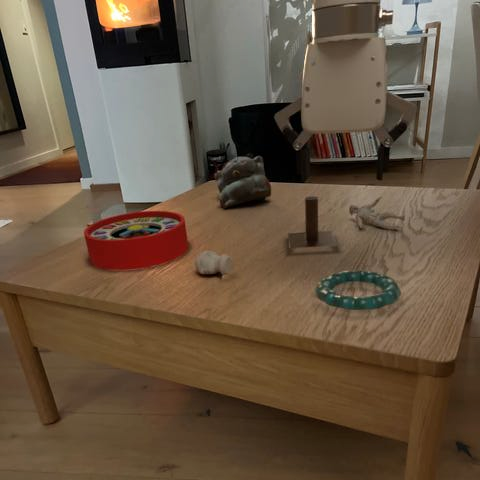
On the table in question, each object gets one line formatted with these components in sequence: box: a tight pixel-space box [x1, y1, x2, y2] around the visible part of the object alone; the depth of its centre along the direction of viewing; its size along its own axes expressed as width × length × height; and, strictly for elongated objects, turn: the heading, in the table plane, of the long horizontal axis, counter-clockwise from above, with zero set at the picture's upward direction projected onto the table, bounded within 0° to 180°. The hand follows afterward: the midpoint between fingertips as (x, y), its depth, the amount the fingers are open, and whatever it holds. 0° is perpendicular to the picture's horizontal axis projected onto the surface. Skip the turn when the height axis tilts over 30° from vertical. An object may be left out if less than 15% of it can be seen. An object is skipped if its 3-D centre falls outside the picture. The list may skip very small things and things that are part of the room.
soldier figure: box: [348, 196, 406, 231], centre depth 100 cm, size 8×5×12 cm
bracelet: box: [315, 269, 402, 311], centre depth 70 cm, size 12×12×2 cm
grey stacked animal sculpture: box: [214, 152, 272, 209], centre depth 125 cm, size 15×12×14 cm
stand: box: [287, 196, 338, 249], centre depth 91 cm, size 9×9×9 cm
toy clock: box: [83, 210, 189, 272], centre depth 96 cm, size 20×6×20 cm
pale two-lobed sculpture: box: [194, 250, 235, 276], centre depth 83 cm, size 4×8×5 cm
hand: (341, 178), depth 63 cm, fingers open, 9 cm apart
